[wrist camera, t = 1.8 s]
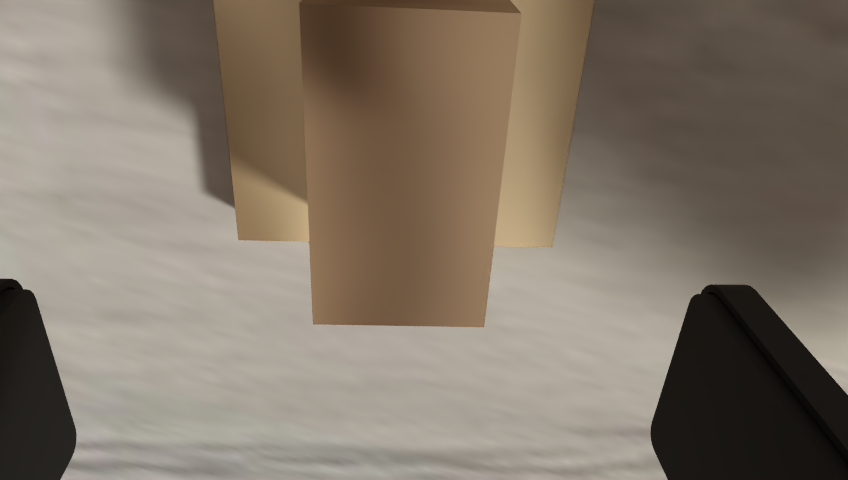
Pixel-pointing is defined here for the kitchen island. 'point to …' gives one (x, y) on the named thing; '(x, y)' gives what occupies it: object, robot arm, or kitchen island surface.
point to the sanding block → (405, 155)
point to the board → (285, 134)
